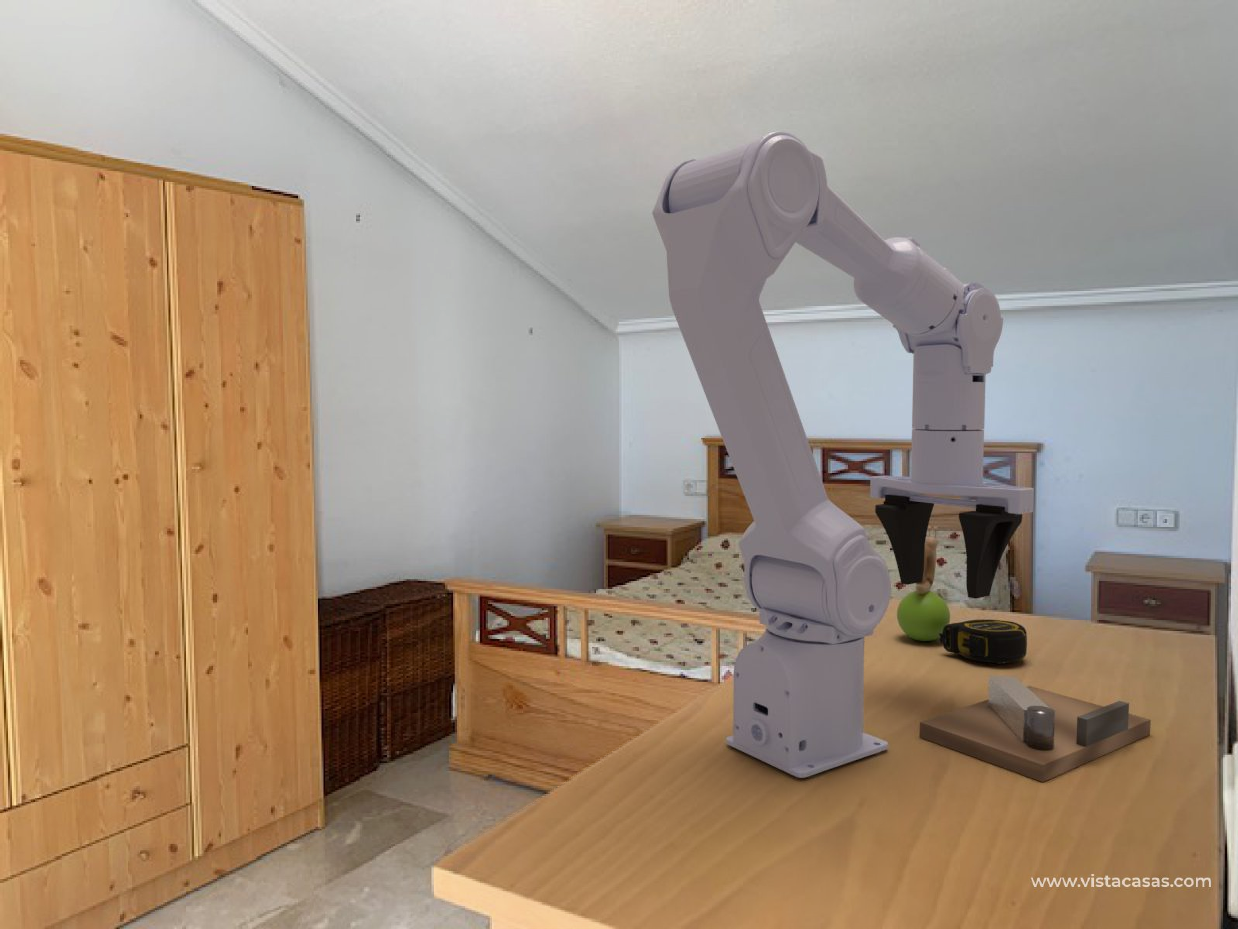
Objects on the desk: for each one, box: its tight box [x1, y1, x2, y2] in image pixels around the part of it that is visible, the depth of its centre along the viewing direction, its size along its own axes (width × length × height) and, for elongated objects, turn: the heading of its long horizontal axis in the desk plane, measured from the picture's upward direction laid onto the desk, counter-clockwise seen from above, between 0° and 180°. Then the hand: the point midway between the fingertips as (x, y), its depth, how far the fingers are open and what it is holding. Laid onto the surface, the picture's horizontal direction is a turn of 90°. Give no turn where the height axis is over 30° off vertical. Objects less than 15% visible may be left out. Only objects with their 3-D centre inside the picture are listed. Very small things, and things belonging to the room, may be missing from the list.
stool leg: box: [988, 675, 1055, 750], centre depth 68 cm, size 9×2×3 cm, turn 175°
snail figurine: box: [896, 525, 951, 642], centre depth 97 cm, size 5×6×12 cm
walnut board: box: [919, 685, 1152, 783], centre depth 70 cm, size 15×10×3 cm, turn 125°
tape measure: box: [938, 619, 1028, 665], centre depth 90 cm, size 7×7×4 cm
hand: (943, 589), depth 77 cm, fingers open, 6 cm apart
